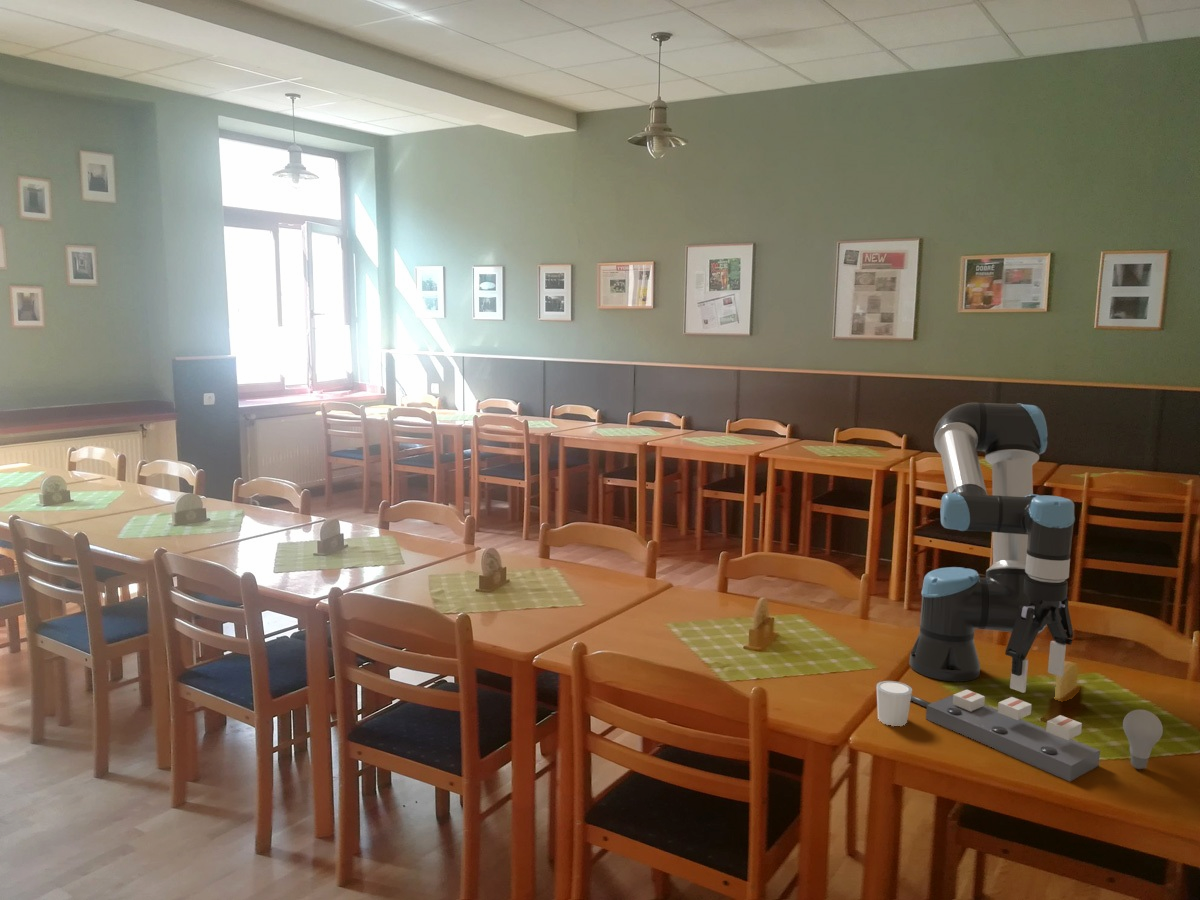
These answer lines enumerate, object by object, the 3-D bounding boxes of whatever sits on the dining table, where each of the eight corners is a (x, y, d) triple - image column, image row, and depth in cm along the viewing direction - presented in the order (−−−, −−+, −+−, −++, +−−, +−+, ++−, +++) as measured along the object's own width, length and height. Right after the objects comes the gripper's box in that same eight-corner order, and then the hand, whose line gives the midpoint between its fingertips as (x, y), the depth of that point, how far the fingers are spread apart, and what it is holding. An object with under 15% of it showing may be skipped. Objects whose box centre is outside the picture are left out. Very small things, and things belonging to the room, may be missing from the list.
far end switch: (1059, 725, 164) (1060, 714, 163) (1081, 733, 161) (1082, 722, 160) (1046, 731, 161) (1047, 720, 161) (1067, 740, 158) (1069, 729, 158)
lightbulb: (1111, 760, 162) (1116, 703, 160) (1142, 759, 162) (1149, 703, 160) (1133, 777, 156) (1139, 719, 154) (1166, 776, 156) (1172, 718, 154)
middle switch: (1010, 706, 172) (1011, 696, 171) (1030, 714, 168) (1031, 703, 168) (997, 712, 169) (998, 702, 169) (1017, 720, 166) (1018, 709, 165)
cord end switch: (966, 698, 180) (966, 689, 179) (984, 705, 176) (984, 696, 176) (952, 704, 177) (953, 694, 177) (970, 711, 174) (971, 701, 173)
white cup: (912, 729, 173) (914, 695, 172) (876, 726, 174) (878, 692, 173) (907, 714, 180) (909, 681, 179) (872, 711, 181) (874, 678, 180)
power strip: (914, 690, 191) (915, 676, 191) (1098, 765, 160) (1100, 748, 159) (885, 701, 185) (886, 686, 185) (1069, 781, 154) (1071, 764, 153)
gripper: (1060, 562, 179) (1051, 662, 182) (990, 582, 165) (982, 689, 168) (1098, 571, 173) (1088, 674, 176) (1029, 592, 159) (1020, 704, 162)
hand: (1036, 682), depth 172 cm, fingers open, 13 cm apart
